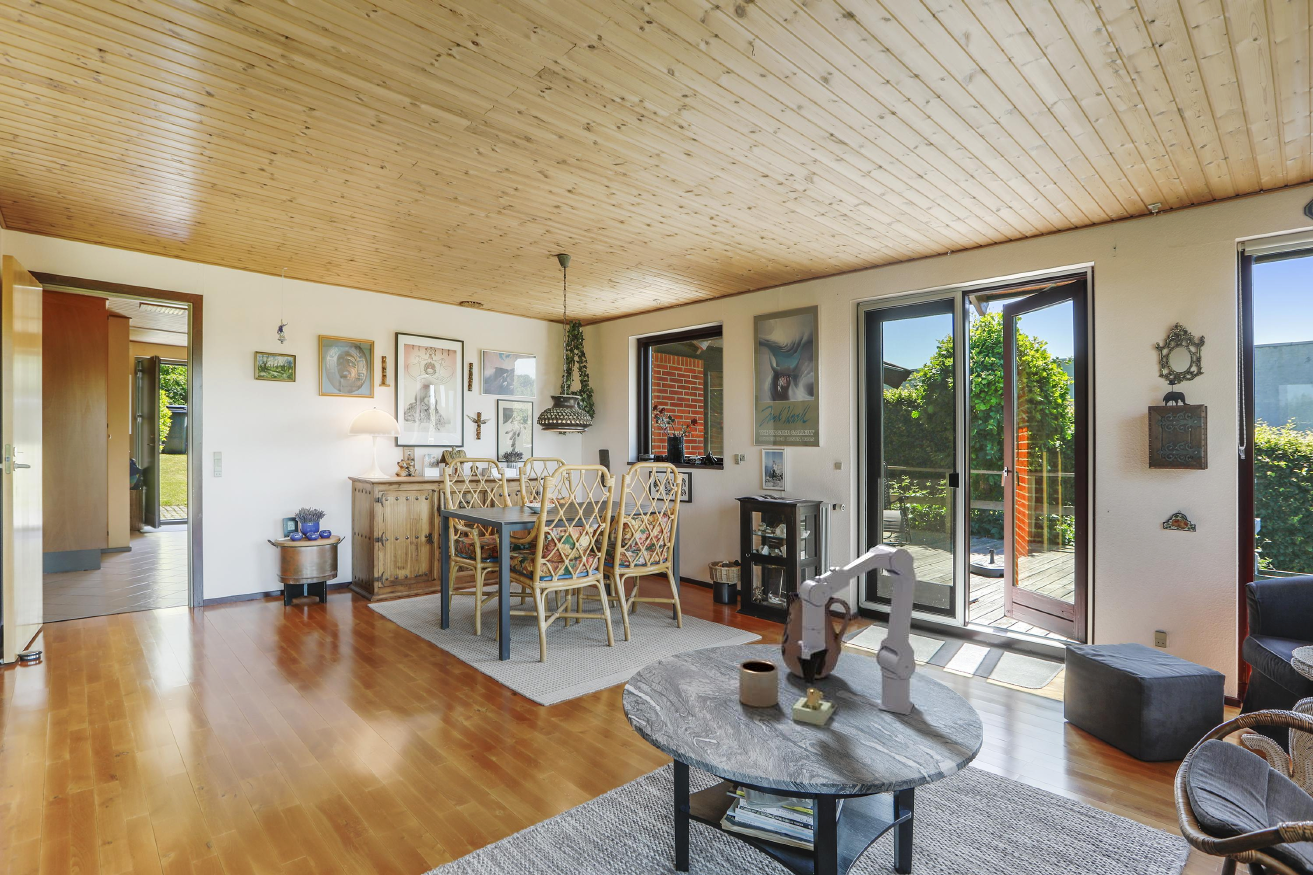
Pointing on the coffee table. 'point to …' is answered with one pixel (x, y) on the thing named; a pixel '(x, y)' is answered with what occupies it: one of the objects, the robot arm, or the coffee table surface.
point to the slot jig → (814, 711)
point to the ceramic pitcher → (795, 635)
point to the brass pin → (813, 699)
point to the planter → (758, 683)
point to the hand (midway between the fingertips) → (813, 678)
